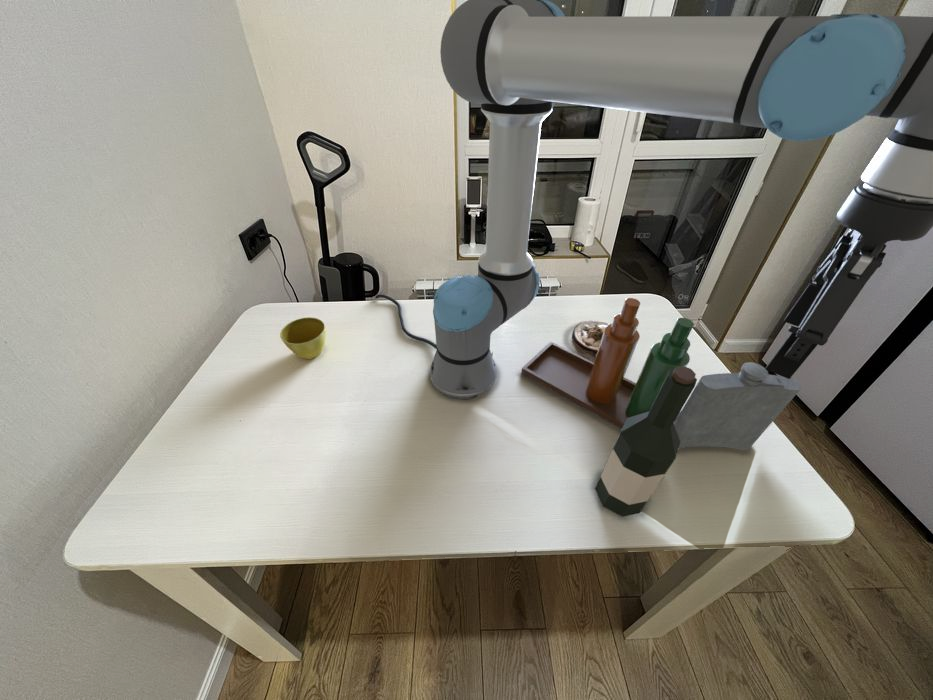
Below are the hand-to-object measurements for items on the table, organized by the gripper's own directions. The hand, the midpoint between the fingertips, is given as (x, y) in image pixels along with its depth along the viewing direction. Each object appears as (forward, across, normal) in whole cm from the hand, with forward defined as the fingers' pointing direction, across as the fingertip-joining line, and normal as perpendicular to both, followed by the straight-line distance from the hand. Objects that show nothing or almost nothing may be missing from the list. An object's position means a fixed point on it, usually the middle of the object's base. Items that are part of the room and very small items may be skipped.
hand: (786, 346), depth 53 cm
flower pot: (+28, -32, +83) cm, 93 cm away
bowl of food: (+28, +18, +31) cm, 46 cm away
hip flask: (+28, +4, +1) cm, 28 cm away
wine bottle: (+28, -17, +9) cm, 34 cm away
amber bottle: (+27, +2, +22) cm, 35 cm away
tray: (+28, +2, +23) cm, 36 cm away
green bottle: (+27, +2, +13) cm, 30 cm away
